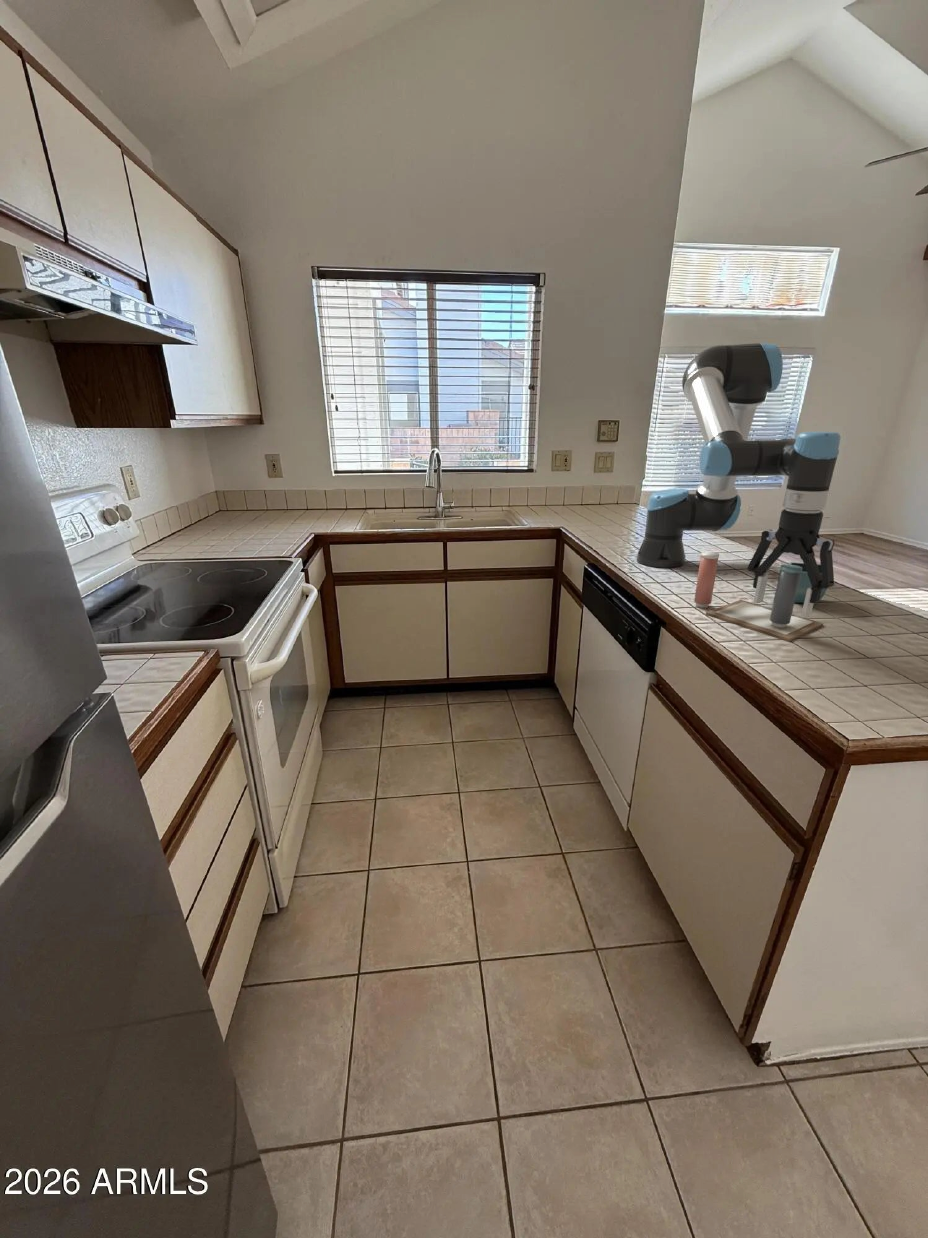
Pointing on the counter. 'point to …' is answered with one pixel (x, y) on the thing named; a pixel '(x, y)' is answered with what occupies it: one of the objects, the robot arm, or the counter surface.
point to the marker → (785, 595)
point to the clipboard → (763, 620)
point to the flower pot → (805, 583)
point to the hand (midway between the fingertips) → (781, 608)
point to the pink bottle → (706, 579)
